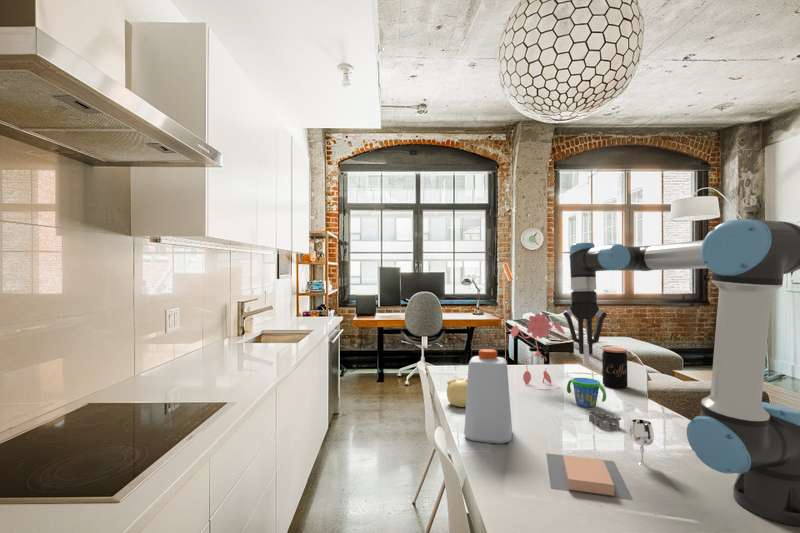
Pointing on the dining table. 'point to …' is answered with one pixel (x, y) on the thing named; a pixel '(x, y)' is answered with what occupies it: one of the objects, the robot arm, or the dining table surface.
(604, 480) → the peach rectangular block
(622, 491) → the mat
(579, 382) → the snack cup
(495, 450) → the dining table surface
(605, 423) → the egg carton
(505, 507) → the dining table surface
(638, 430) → the wineglass
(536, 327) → the pink flower
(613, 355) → the coffee jar
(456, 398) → the sculpture
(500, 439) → the plastic bottle
